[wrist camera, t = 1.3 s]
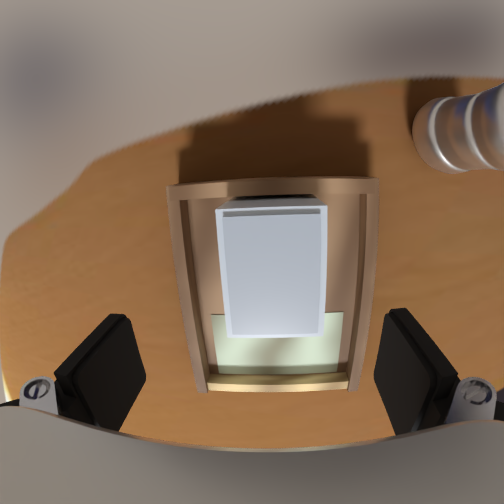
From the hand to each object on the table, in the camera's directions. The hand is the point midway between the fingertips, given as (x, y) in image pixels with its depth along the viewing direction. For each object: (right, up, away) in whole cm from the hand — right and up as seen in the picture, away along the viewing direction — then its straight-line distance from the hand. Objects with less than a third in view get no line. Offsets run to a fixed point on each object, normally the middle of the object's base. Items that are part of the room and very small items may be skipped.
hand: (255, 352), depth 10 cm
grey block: (+2, +4, +14) cm, 15 cm away
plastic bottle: (+16, +14, +11) cm, 24 cm away
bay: (+2, 0, +16) cm, 16 cm away
